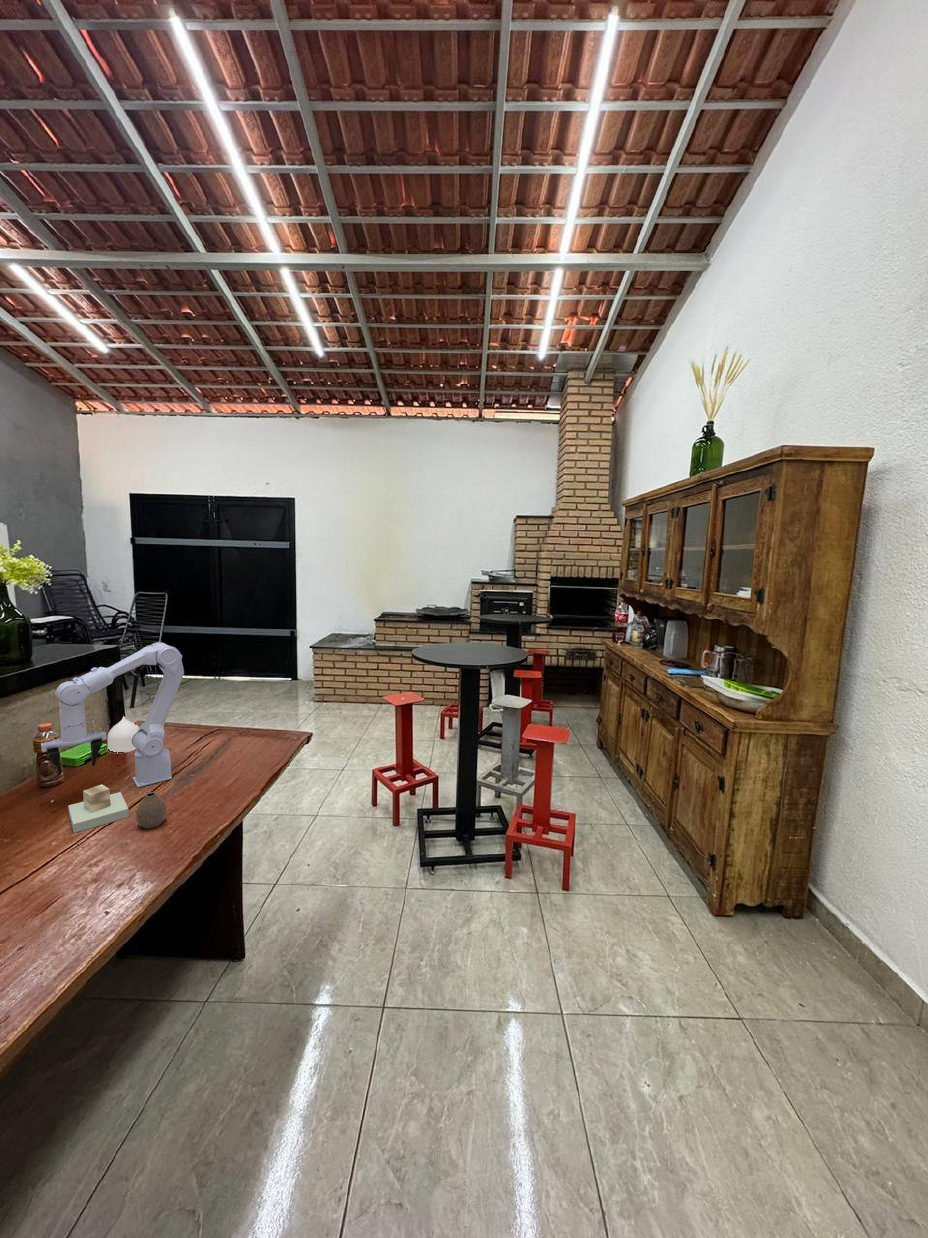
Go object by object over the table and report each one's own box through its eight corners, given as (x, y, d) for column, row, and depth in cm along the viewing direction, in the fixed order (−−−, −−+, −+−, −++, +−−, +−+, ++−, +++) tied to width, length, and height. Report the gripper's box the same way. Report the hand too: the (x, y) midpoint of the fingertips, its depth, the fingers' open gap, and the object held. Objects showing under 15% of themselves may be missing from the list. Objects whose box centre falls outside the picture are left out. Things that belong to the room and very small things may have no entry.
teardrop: (150, 743, 184) (149, 713, 182) (122, 755, 173) (120, 722, 172) (129, 739, 187) (127, 709, 185) (99, 750, 177) (97, 718, 175)
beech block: (102, 801, 138) (101, 784, 138) (110, 805, 136) (109, 788, 135) (84, 807, 135) (82, 790, 134) (91, 812, 132) (90, 795, 132)
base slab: (121, 800, 144) (120, 792, 144) (128, 817, 135) (128, 808, 135) (69, 814, 136) (68, 805, 135) (73, 833, 127) (73, 824, 127)
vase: (173, 820, 134) (171, 790, 133) (149, 834, 128) (148, 803, 127) (154, 815, 137) (152, 786, 135) (130, 828, 130) (128, 797, 129)
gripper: (102, 714, 147) (105, 757, 149) (38, 725, 137) (43, 770, 139) (106, 721, 142) (109, 765, 144) (40, 732, 132) (44, 779, 134)
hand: (76, 768), depth 141 cm, fingers open, 7 cm apart
